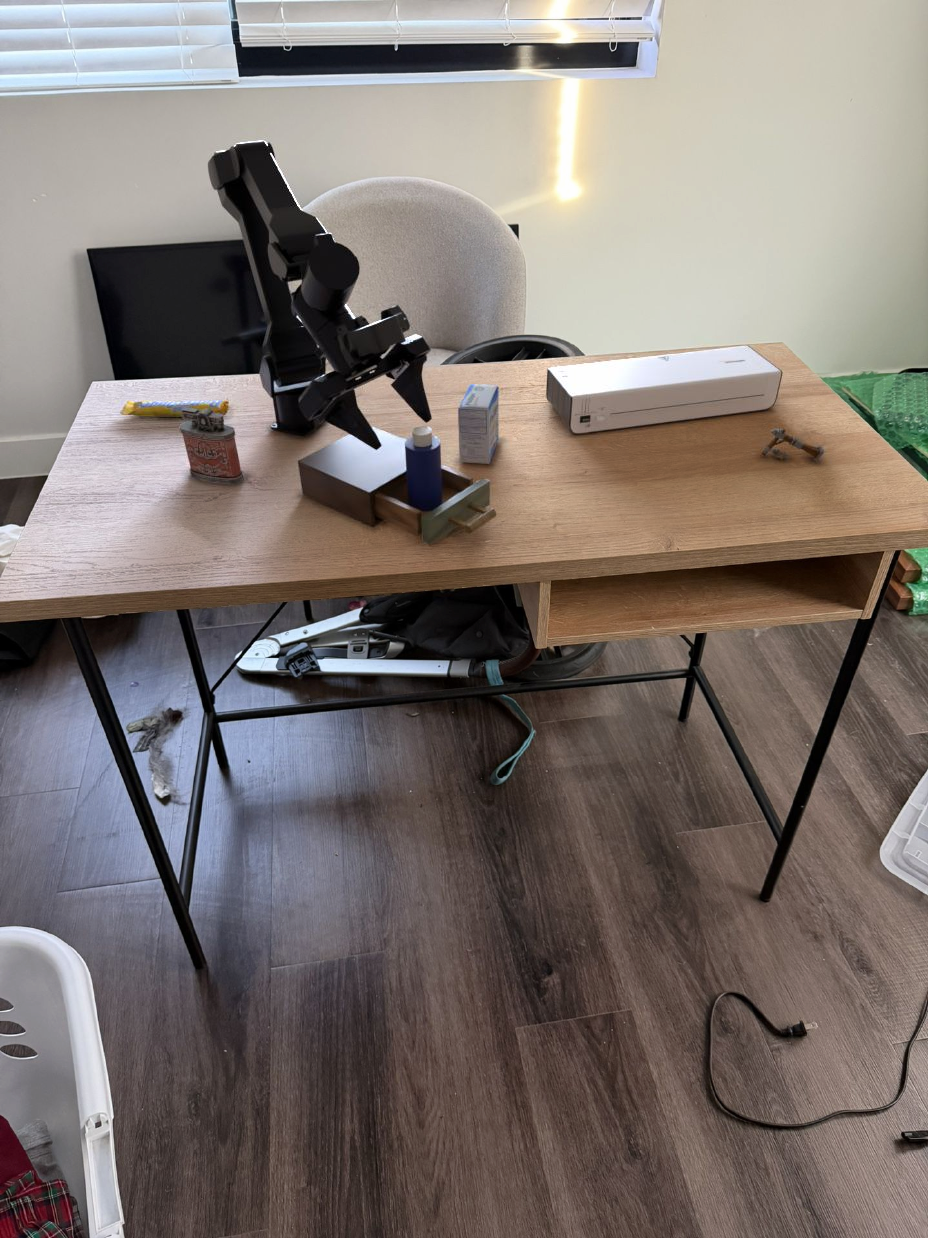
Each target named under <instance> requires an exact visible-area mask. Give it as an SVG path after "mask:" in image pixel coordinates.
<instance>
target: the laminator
mask: <svg viewBox="0 0 928 1238" xmlns="http://www.w3.org/2000/svg"><path fill="white" fill-rule="evenodd" d="M782 378H783V371H782V370H781V369H780V368H779V367H777V366H776V365H775V364H774V363H773V362H771V361H769V360H768V359H767V358H766V357H764V356H763V355H762V354H760V353H759V352H758V351H756V350H755V349H754V348H752V347H751V346H750V345H740V346H739V345H738V346H731V347H722V348H721V347H720V348H715V349H713V348H712V349H705V350H697V351H688V352H679V353H670V354H662V355H661V354H660V355H652V356H643V357H636V358H627V359H617V360H608V361H601V362H594V363H593V362H592V363H583V364H575V365H565V366H557V367H548V368H547V370H546V386H545V388H546V390H545V398H546V400H547V402H548V403H550V405H551V407H552V408H553V409H554V410H555V411H556V413H557V414H558V416H559V417H560V418H561V420H562V421H563V422H564V424H565V425H566V426H567V428H568V429H569V432H570V433H571V434H573V435H577V436H578V435H579V436H580V435H581V436H582V435H587V434H588V435H589V434H595V433H603V432H604V433H605V432H611V431H619V430H627V429H634V428H635V429H636V428H641V427H648V426H657V425H663V424H673V423H681V422H688V421H696V420H702V419H703V420H704V419H711V418H719V417H726V416H733V415H741V414H743V415H744V414H748V413H758V412H765V411H768V410H770V409H772V408H774V406H775V404H776V403H777V399H778V395H779V391H780V387H781V382H782Z"/></svg>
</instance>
